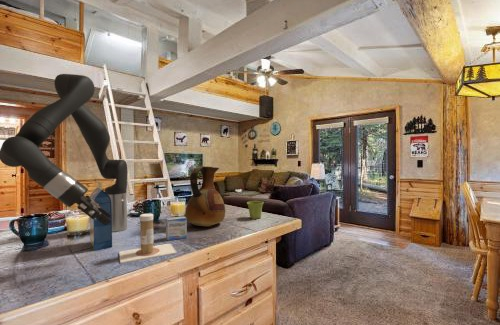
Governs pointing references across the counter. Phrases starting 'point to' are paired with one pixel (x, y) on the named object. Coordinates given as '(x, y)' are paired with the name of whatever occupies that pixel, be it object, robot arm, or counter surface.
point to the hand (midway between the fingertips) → (108, 220)
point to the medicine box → (176, 228)
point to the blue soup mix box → (99, 231)
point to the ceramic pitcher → (204, 199)
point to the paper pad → (137, 255)
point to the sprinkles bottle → (146, 233)
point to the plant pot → (255, 209)
